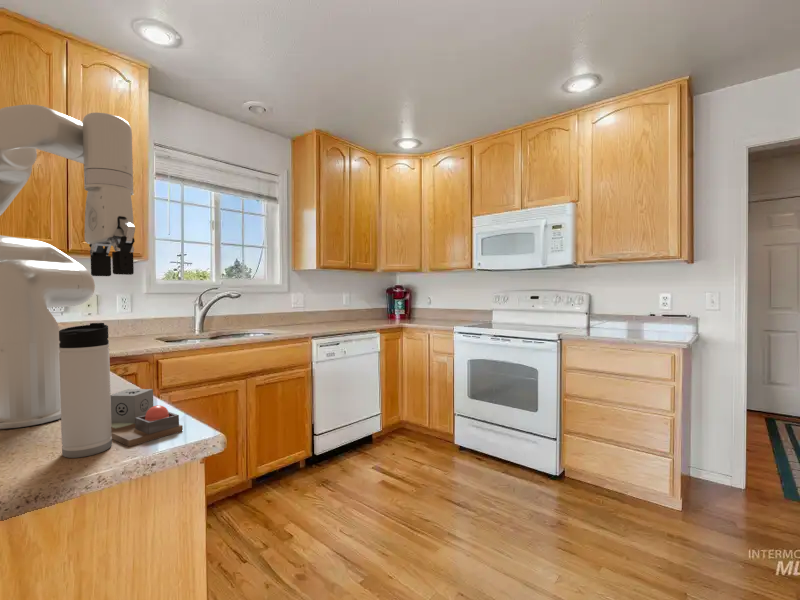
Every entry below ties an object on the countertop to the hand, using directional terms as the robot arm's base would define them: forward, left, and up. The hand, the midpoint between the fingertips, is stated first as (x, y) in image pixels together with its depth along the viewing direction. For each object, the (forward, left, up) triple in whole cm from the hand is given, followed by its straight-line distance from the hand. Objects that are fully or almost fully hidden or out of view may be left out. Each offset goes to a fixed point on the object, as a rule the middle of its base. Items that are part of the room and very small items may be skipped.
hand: (111, 275), depth 77 cm
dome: (+12, +2, -27) cm, 30 cm away
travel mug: (+11, -8, -28) cm, 32 cm away
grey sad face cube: (+3, +1, -27) cm, 28 cm away
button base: (+8, +1, -28) cm, 29 cm away
